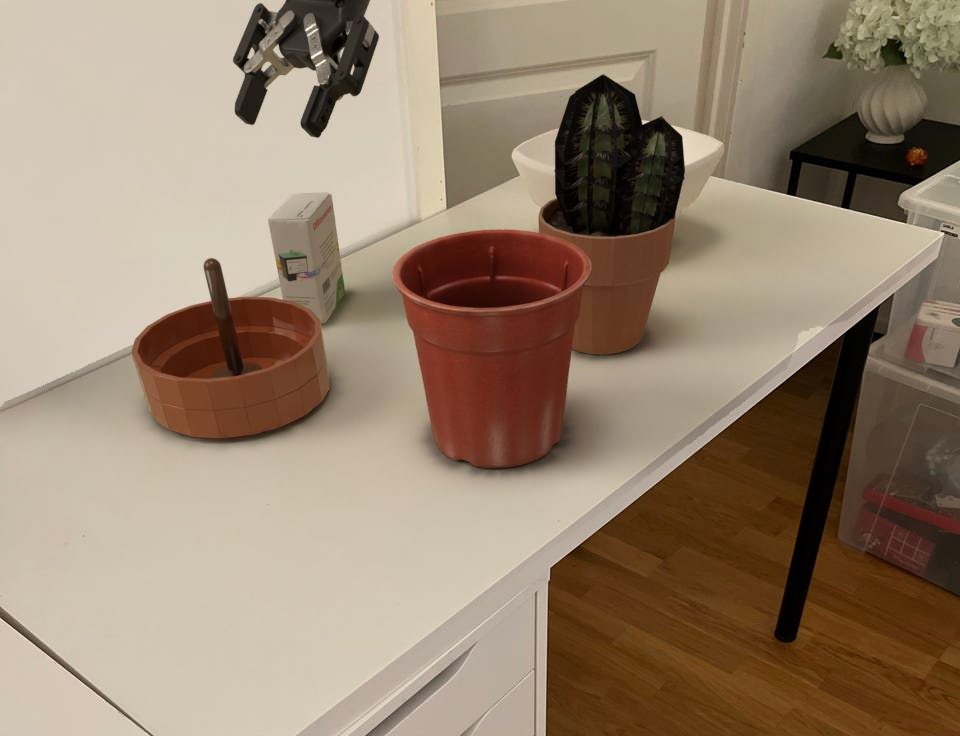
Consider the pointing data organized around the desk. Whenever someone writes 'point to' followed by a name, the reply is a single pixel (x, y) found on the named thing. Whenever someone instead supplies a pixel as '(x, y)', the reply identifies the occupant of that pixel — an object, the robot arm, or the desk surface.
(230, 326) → the brown peg stand
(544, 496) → the desk surface
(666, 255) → the potted plant
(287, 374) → the shallow terracotta planter
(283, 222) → the ink box
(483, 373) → the flower pot
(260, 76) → the robot arm
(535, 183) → the bowl
